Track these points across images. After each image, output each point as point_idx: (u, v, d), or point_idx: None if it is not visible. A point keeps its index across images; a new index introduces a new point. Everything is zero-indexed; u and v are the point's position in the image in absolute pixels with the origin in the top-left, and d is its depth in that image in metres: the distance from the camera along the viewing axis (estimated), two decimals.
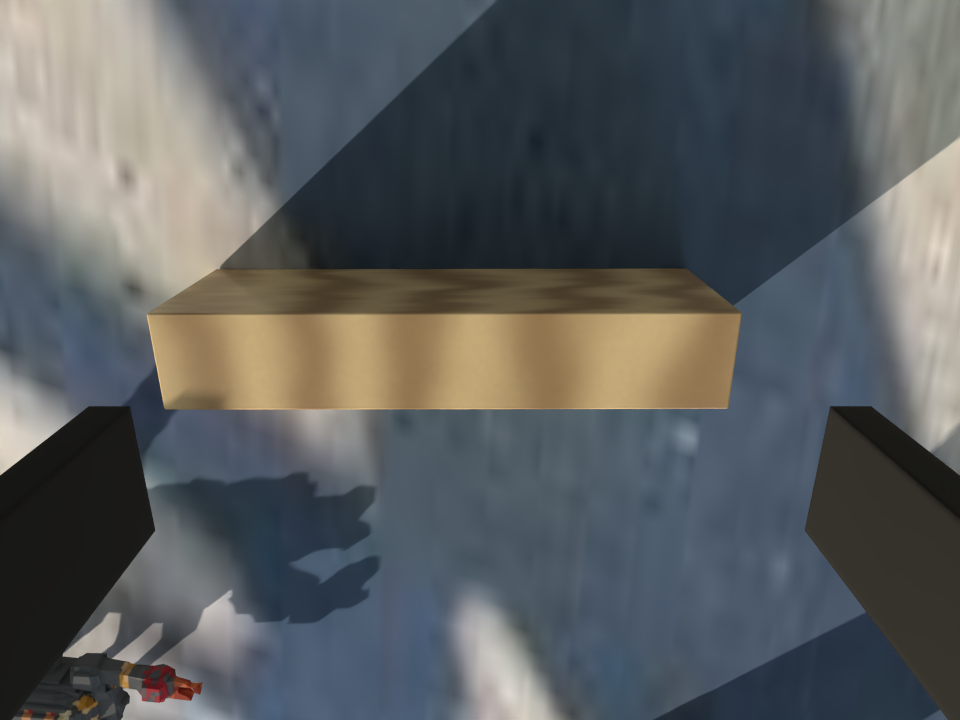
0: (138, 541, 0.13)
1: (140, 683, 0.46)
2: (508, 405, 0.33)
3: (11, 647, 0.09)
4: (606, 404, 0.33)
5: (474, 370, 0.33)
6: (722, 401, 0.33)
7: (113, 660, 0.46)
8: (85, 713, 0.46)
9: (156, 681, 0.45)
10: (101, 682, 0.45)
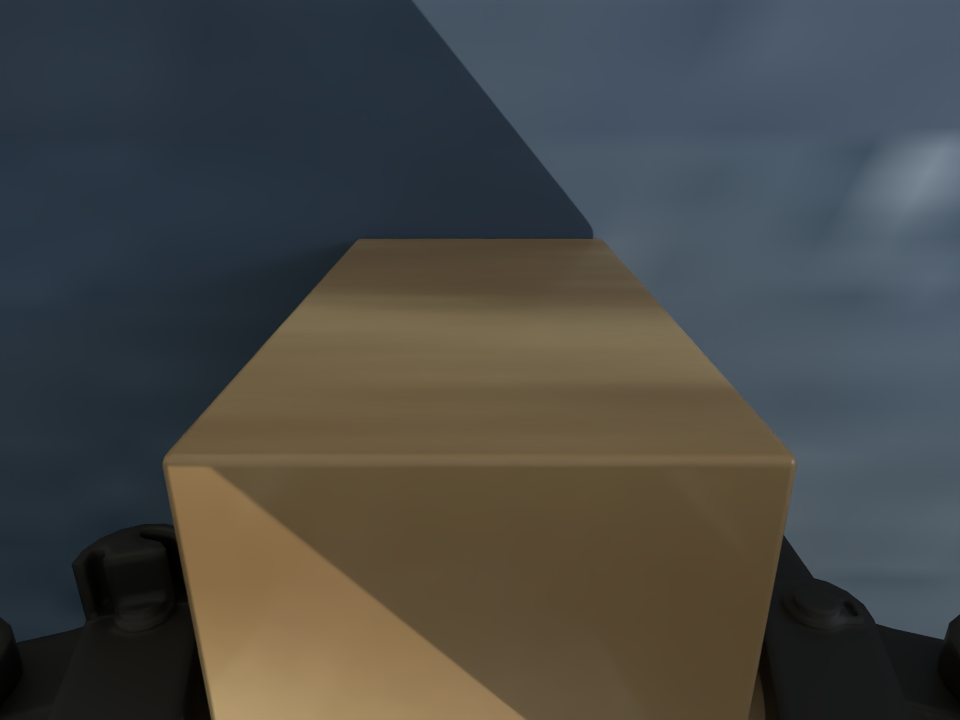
0: None
1: None
2: None
3: None
4: None
5: None
6: (739, 497, 0.05)
7: None
8: None
9: None
10: None
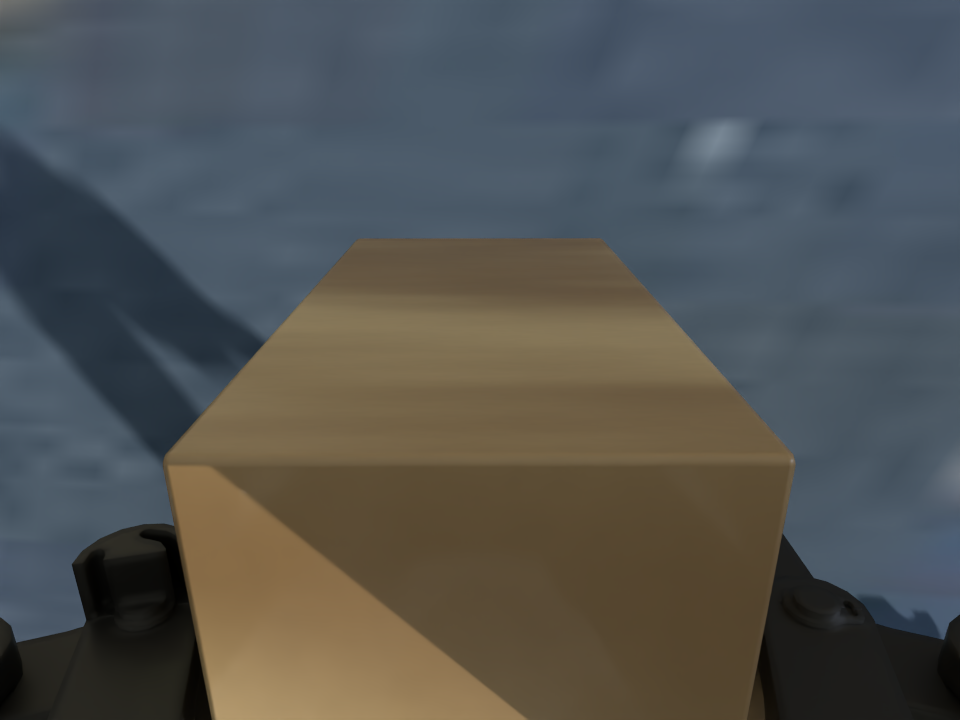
0: None
1: None
2: None
3: None
4: None
5: None
6: (739, 496, 0.05)
7: None
8: None
9: None
10: None
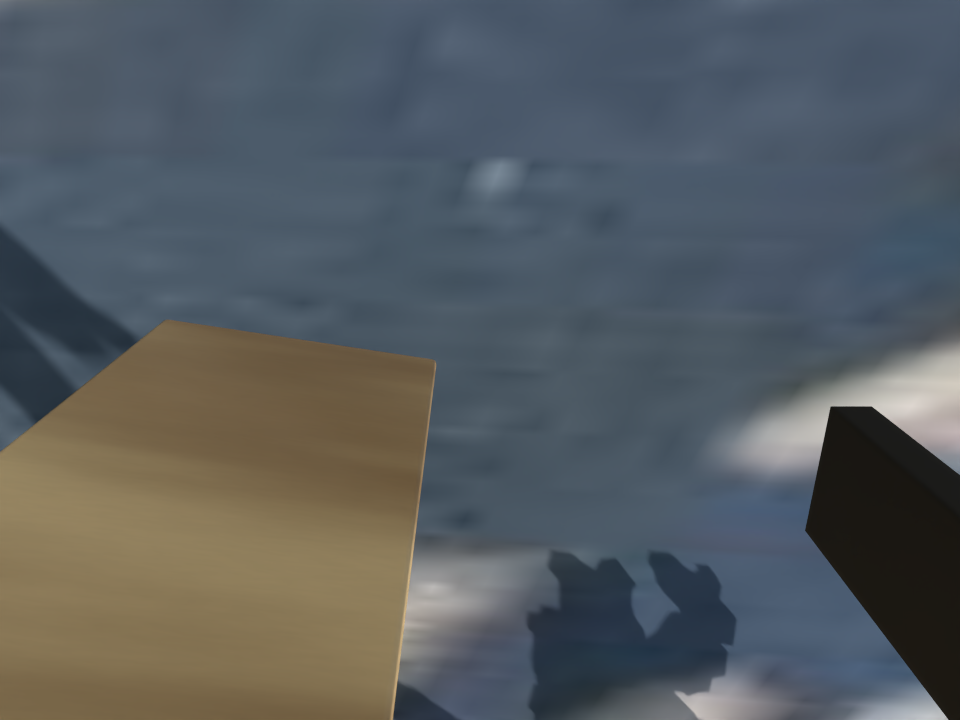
0: None
1: None
2: None
3: None
4: None
5: None
6: None
7: None
8: None
9: None
10: None
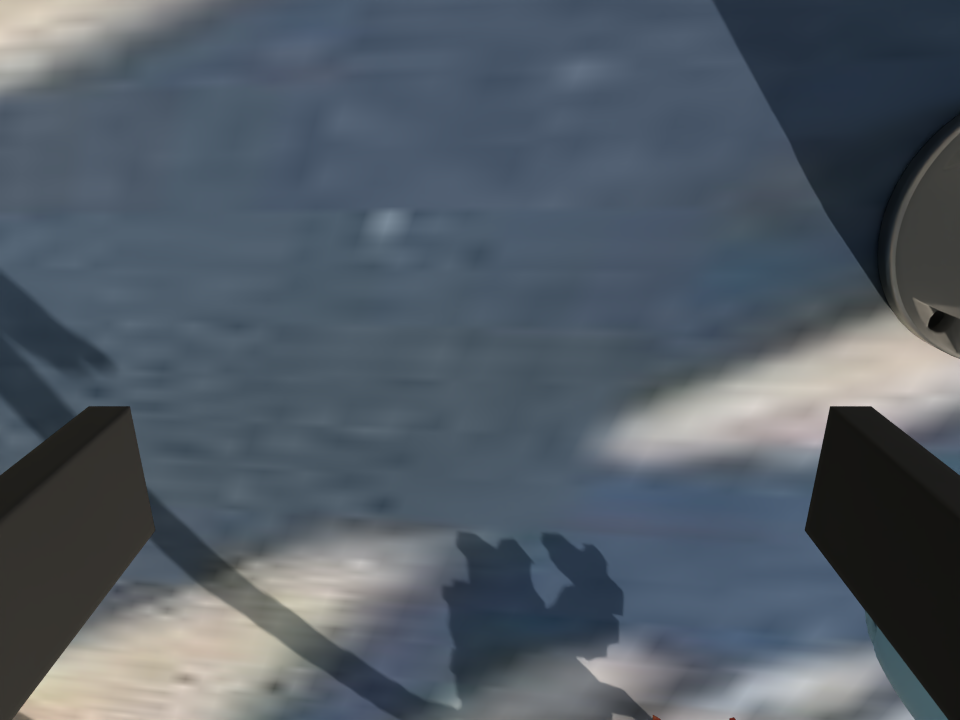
0: (138, 541, 0.13)
1: None
2: None
3: (11, 647, 0.09)
4: None
5: None
6: None
7: None
8: None
9: None
10: None
